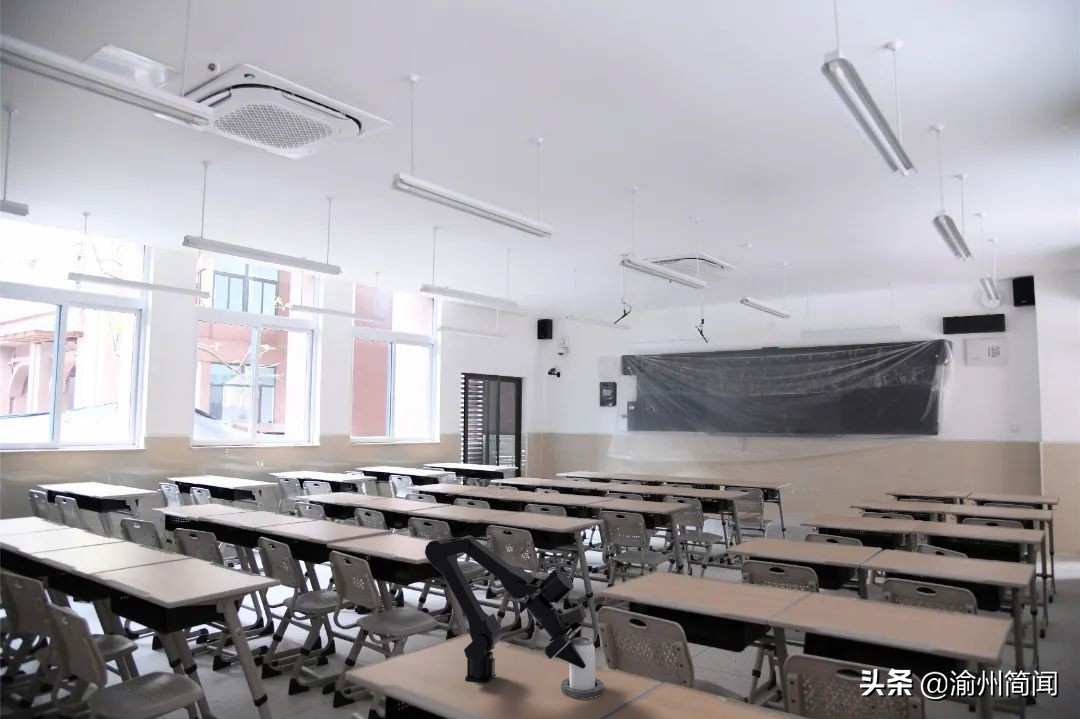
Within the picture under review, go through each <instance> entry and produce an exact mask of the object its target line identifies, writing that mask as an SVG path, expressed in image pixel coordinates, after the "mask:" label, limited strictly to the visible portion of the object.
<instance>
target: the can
mask: <svg viewBox="0 0 1080 719" xmlns="http://www.w3.org/2000/svg"><path fill="white" fill-rule="evenodd" d="M574 648H575V649H576V651H577V652H578V654H579V655H580V657H581V658H582V660H583V661H584V663H585V665H586V667H585V668H583V669H582V668H580V667H578V666H576V665H574V664H572V663H569V677H570V687H571V688H573V689H576V690H590V689H593V688H595V678H596V647H595V645H594V640H593V639H592V638H589V637H583V636H582V637H578V638H574Z"/></svg>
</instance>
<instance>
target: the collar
mask: <svg viewBox="0 0 1080 719" xmlns="http://www.w3.org/2000/svg"><path fill="white" fill-rule="evenodd" d="M569 686H570V676H569V677H568V678H565V679H563V681H562V682H561V684H560V687H561V688H560V689H561V690H562V691H561V692H562V693H563V694H564V695H565V696H567V697H569V696H571V697H570V698H572V697H573V699H578V698H590V697H595V696H598V695H600V696H602V695H603V694H604V690H605V683H603V681H601V679H599V678H596V677H595V687H596V688H593V689H590V690H576V689H573V688H571V687H569ZM601 694H602V695H601ZM574 697H575V698H574ZM598 697H599V696H598ZM590 699H591V698H590Z"/></svg>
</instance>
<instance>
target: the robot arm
mask: <svg viewBox="0 0 1080 719" xmlns="http://www.w3.org/2000/svg"><path fill="white" fill-rule="evenodd" d="M462 553H463V554H466V556H468V557H469V558H470V559H471V560H473V561H474V562H476V563H477V564H479V566H481V567H482V568H484V569H485V570H486V571H487V572H488V573H490V574H492V575H493V576H494V577H495V578H496V579H498V581H499V583H500V584H501V585H502V587H503V589H504V590H506V592H507V593H508V594H509V595H510V596H511V597H512V598H514V599H515V600H520V601H519V610H518V612H519V614H522V613H523V612H524V611H525V610H527V611H528V612H529V614H531V616H532V617H533V618H534V619H535V621H537V623H538V624H539V625H540V626H538V628H539V630H540V631H543V630H544V631H545V632H546V633H547V635H548V636H549V637H550V639H549V643H548V644H547V645H546V646H545V648H544V654H545V655H546V657H547V658H548V659H549V660H551V659H552V658H553V657H554V658H558V659H560V660H562V661H565V662H568V663H569V664H570V663H572V664H574V665H576V666H578V667H580V668H582V669H583V668H585V667H586V665H585V663H584V661H583V660H582V658H581V657H580V655H579V654H578V652H577V651H576V649H575V648H574V638H578V637H583V630H584V627H583V624H584V623H585V618H587V614H586V611H585V610H586V606H585V605H583V603H580V602H579V601H578V600H576V601H573V602H572V603H571V604H570V608H568V609H567V610H565V611H564V610H563V609H562V608H561V607H558V608H556V607H555V606H554V604H553V603H555V604H559V603H560V602H561V601H562V600H563V599H564V598H565V597H566V596H568V594H569V593H570V592H572V590H573V589H574V584H573V582H572V579H570V577H569V576H568V575H566V574H564V573H563V572H562V571H559V570H558V568H555V569H553V570H552V571H550V573H549V575H548V576H547V577H546V578H539V577H535V576H533V575H532V573H530V572H528V571H526V570H524V569H522V568H519V567H517V566H514V565H511V564H510V563H509V562H506V561H505V560H503V559H502V558H501V557H500V556H499V555H497V554H496V553H494V552H493V551H491V549H489V548H488V547H487V546H485V545H483V543H481V542H480V541H478V540H477V539H476V538H475V537H474V536H473V535H467V536H463V537H453V538H449V537H446V536H440V537H438V538H436V539H433V540H431V541H428V543H427V544H426V546H425V549H424V555H425V557H426V559H427V561H428V562H429V563H430V564H431V566H432V567H433V568H435V569H436V570H437V571H439V572H440V573H441V574H442V576H443V577H444V579H445V582H446V583H447V585H448V586H449V589H450V590H451V592H452V594H453V596H454V598H455V599H456V601H457V604H458V605H459V607H460V609H461V610H462V613H463V614H464V616H465V618H466V620H467V623H468V631H469V636H470V639H471V642H470V643H469V644H468V645H467V646H466V647H465V648H464V649H463V651H464V655H465V657H466V659H467V661H466V664H467V665H466V668H467V670H466V671H467V672H466V676H465V677H464V680H465V681H473V682H482V683H483V682H484V683H489V681H491V679H492V678H493V677H494V675H495V674H496V669H495V668H496V658H494V651H493V650H494V649H495V647H496V645H497V644H498V643H499V642H500V641H501V639H502V635H503V634H502V630H501V628H502V625H501V624H500V623H499V622H498V620H497V618H496V615H495V614H494V613H492V614H490V615H489V614H488V613H486V612H485V611H484V610H483V608H482V606H481V604H480V602H479V601H478V599H477V597H476V595H475V593H474V591H473V590H472V588H471V586H470V583H468V580H467V579H466V577H465V574H464V573H463V571H462V569H461V568H460V566H459V563H458V554H462ZM539 590H540V592H539V593H538V594H536V592H538V591H539ZM528 595H529V596H528ZM527 596H528V598H527V599H524V598H526V597H527Z"/></svg>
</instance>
